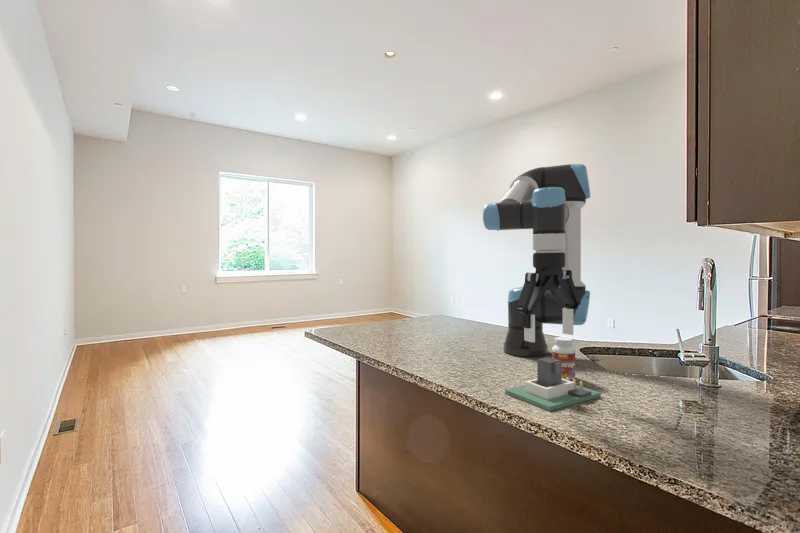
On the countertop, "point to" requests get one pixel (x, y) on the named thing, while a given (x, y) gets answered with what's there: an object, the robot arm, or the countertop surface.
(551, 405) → the header board
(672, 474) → the countertop surface
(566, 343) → the pill bottle
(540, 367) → the plug
